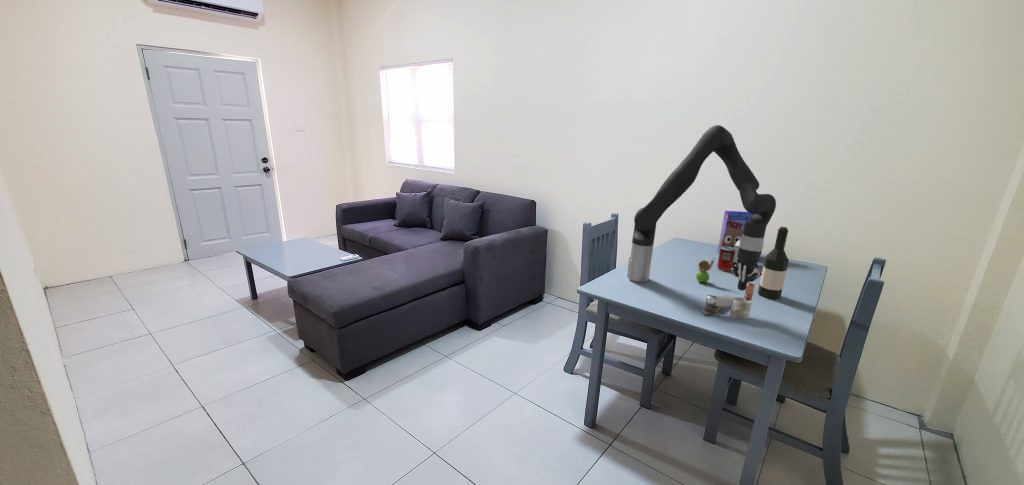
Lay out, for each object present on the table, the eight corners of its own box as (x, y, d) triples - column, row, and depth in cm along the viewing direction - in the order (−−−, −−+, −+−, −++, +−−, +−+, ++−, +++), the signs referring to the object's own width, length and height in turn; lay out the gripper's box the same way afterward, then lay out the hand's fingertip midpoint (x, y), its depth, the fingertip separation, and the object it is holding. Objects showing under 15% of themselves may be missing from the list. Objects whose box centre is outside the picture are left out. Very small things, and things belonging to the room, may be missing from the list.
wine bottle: (753, 291, 178) (767, 224, 169) (771, 291, 179) (786, 224, 170) (766, 299, 170) (781, 230, 161) (785, 299, 171) (801, 230, 162)
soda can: (733, 272, 200) (737, 249, 197) (718, 270, 202) (721, 248, 199) (730, 268, 206) (734, 246, 203) (715, 266, 208) (719, 244, 205)
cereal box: (720, 254, 228) (727, 212, 221) (717, 251, 232) (724, 210, 226) (753, 256, 225) (762, 214, 218) (750, 253, 230) (759, 212, 223)
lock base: (704, 316, 154) (707, 300, 152) (691, 299, 169) (693, 284, 167) (748, 318, 153) (751, 303, 151) (731, 301, 168) (733, 287, 166)
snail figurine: (712, 285, 184) (716, 259, 181) (696, 283, 185) (700, 258, 182) (708, 280, 189) (713, 256, 186) (694, 279, 191) (698, 254, 187)
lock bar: (707, 305, 155) (711, 283, 152) (704, 301, 158) (707, 280, 156) (752, 308, 153) (756, 286, 151) (747, 304, 157) (752, 282, 154)
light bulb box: (733, 259, 220) (737, 240, 217) (747, 262, 216) (751, 242, 213) (730, 264, 212) (734, 244, 209) (744, 267, 208) (748, 247, 205)
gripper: (729, 242, 158) (720, 283, 163) (756, 253, 146) (746, 297, 151) (745, 241, 160) (736, 282, 165) (773, 252, 148) (763, 296, 153)
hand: (741, 289), depth 158 cm, fingers closed
